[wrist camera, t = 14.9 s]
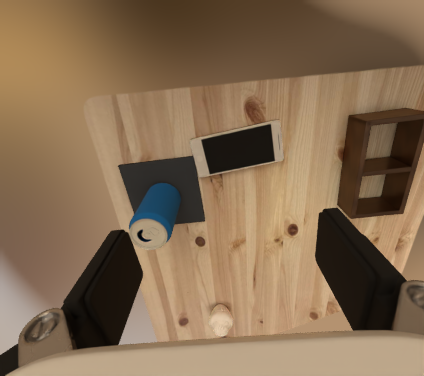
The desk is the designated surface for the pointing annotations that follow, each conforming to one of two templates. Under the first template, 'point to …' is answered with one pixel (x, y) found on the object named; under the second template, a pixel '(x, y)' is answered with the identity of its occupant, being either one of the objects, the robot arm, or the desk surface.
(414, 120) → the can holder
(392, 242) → the desk surface
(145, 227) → the beverage can
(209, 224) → the desk surface
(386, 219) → the desk surface
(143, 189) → the mat
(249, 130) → the smartphone
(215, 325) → the muffin
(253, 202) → the desk surface
